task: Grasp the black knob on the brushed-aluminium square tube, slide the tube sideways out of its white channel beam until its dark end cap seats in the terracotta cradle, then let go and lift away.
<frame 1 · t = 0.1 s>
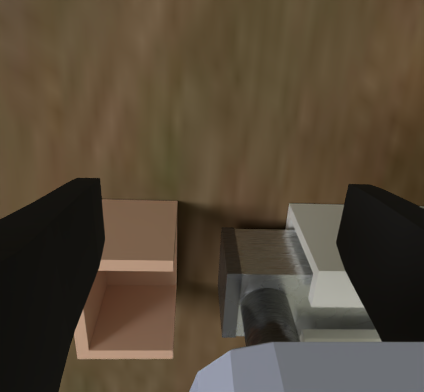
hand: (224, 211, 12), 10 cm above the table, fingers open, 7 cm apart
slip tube: (348, 319, 20), point 6 cm above the table, slide at 0.0 cm
socket: (136, 245, 24), on the table
white channel beam: (358, 249, 25), on the table
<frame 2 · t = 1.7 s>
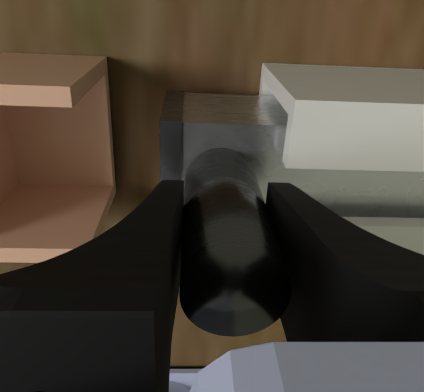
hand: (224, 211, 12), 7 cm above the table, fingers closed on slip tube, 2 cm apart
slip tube: (342, 194, 13), point 6 cm above the table, slide at 0.0 cm, touching gripper
socket: (56, 127, 18), on the table
white channel beam: (357, 137, 19), on the table
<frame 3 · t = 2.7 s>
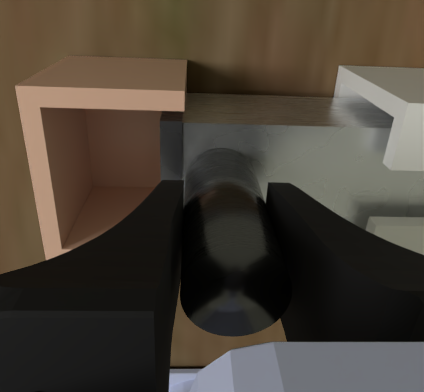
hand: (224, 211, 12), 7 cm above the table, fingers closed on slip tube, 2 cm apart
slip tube: (343, 194, 13), point 6 cm above the table, slide at 3.3 cm, touching gripper
socket: (131, 130, 18), on the table
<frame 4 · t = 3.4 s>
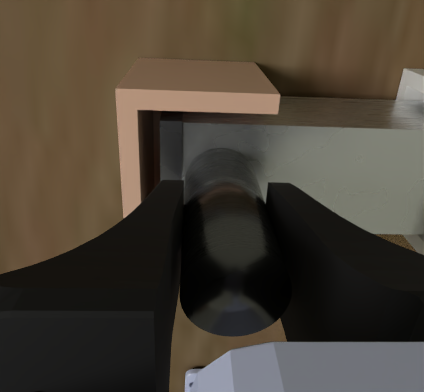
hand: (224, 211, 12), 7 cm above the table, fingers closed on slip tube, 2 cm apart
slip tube: (342, 194, 13), point 6 cm above the table, slide at 6.1 cm, touching gripper
socket: (195, 132, 18), on the table
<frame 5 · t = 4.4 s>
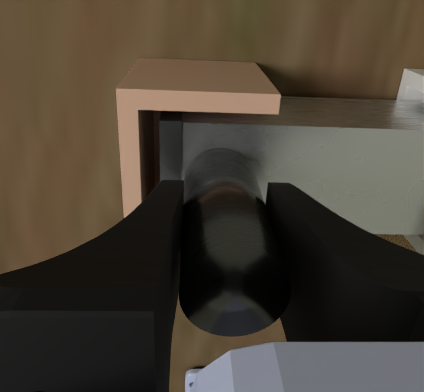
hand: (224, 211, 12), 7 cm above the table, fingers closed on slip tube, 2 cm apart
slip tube: (342, 194, 13), point 6 cm above the table, slide at 6.1 cm, touching gripper
socket: (195, 132, 18), on the table
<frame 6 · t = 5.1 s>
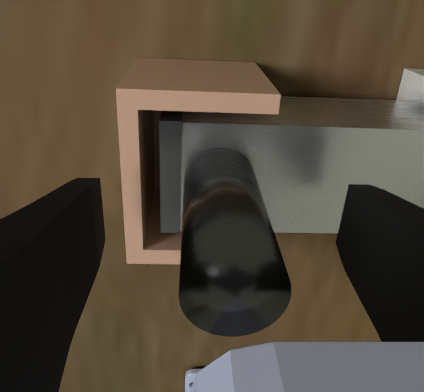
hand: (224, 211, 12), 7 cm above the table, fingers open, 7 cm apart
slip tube: (342, 194, 13), point 6 cm above the table, slide at 6.1 cm
socket: (195, 132, 18), on the table
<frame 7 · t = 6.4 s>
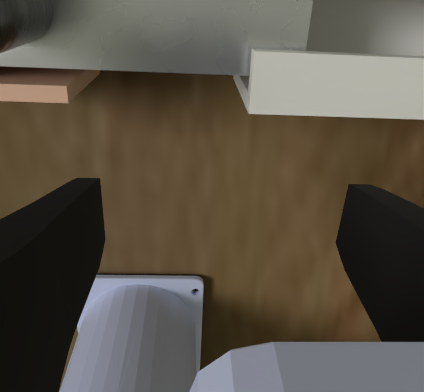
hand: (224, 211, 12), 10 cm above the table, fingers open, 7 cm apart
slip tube: (133, 11, 13), point 6 cm above the table, slide at 6.0 cm
white channel beam: (340, 13, 19), on the table
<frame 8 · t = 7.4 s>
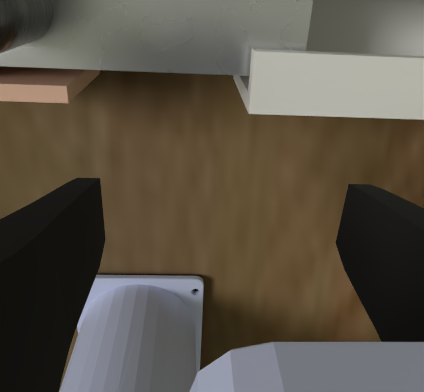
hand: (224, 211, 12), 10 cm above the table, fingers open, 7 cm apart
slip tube: (133, 11, 13), point 6 cm above the table, slide at 6.0 cm
white channel beam: (340, 13, 19), on the table
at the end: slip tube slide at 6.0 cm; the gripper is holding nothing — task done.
